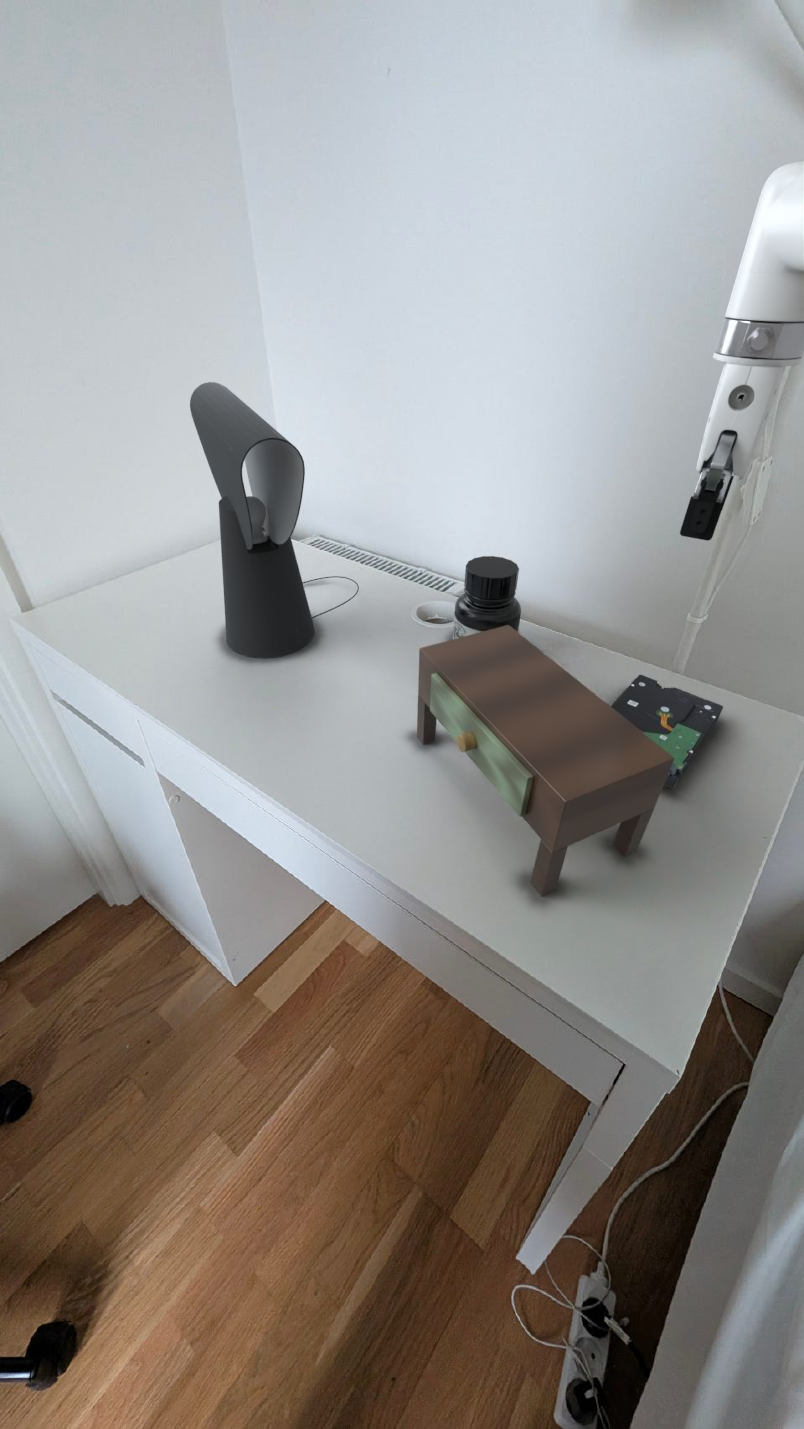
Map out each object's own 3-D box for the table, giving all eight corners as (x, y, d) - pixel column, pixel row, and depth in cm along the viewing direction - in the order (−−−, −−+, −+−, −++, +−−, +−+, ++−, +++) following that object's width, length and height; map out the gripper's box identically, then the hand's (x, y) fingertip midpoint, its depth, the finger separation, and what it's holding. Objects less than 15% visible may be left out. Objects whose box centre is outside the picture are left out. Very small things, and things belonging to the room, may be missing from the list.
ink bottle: (441, 634, 84) (445, 556, 77) (495, 624, 87) (505, 547, 79) (470, 670, 77) (477, 588, 70) (528, 658, 80) (541, 577, 72)
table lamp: (124, 605, 91) (52, 389, 72) (265, 550, 108) (236, 364, 89) (292, 707, 71) (253, 445, 52) (433, 621, 87) (443, 398, 69)
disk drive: (632, 691, 74) (581, 750, 65) (637, 672, 72) (587, 731, 63) (716, 723, 69) (674, 792, 60) (724, 704, 67) (683, 773, 58)
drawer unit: (636, 851, 54) (675, 757, 46) (523, 904, 50) (546, 810, 42) (496, 710, 70) (508, 624, 63) (402, 740, 66) (403, 652, 59)
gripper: (805, 357, 47) (729, 557, 58) (807, 336, 59) (744, 505, 69) (706, 350, 50) (651, 542, 60) (727, 332, 62) (678, 495, 72)
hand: (701, 522), depth 65 cm, fingers open, 9 cm apart
